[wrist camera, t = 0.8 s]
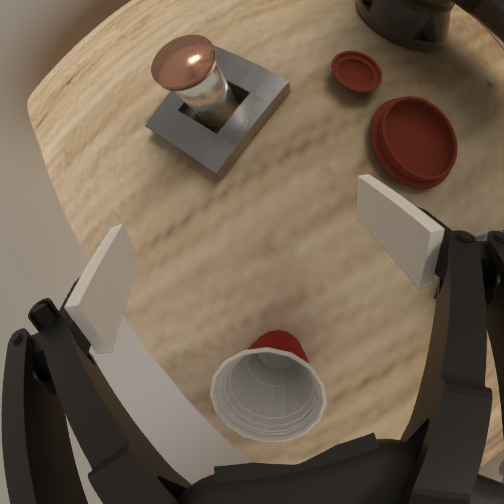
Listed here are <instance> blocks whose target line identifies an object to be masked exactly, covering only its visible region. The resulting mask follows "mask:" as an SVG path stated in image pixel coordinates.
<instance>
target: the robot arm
mask: <svg viewBox="0 0 504 504" xmlns="http://www.w3.org/2000/svg"><path fill="white" fill-rule="evenodd" d="M356 4H357V9H358V12H359V14H360V15H361V17H362V18H363V20H364V21H365V22H366V23H367V24H368V25H369V26H370V27H371V28H372V29H373V30H375V31H376V32H377V33H379V34H380V35H381V36H383V37H384V38H386V39H388V40H390V41H392V42H393V43H396V44H398V45H400V46H403V47H405V48H408V49H412V50H416V51H433V50H436V49H438V48H439V47H440V46H441V45H442V44H443V42H444V41H445V40H446V38H447V35H448V30H449V22H450V12H451V10H452V8H453V7H454V5H455V4H456V5H457V6H459V7H460V8H462V9H463V10H464V11H466V12H467V13H468V14H470V15H471V16H472V17H474V18H475V19H476V20H477V21H479V22H480V23H481V24H482V25H484V26H485V27H486V28H487V29H488V30H490V31H491V32H492V33H493V34H494V35H495V36H496V37H498V38H499V39H500V40H501V41H502V42H503V43H504V0H357V3H356ZM357 220H358V221H359V222H360V223H361V224H362V225H363V226H364V227H365V228H366V229H367V230H368V231H369V232H370V234H371V235H372V236H373V237H374V238H375V239H376V240H377V241H378V242H379V243H380V244H381V246H382V247H383V248H384V249H385V250H386V251H387V252H388V253H389V254H390V256H391V257H392V258H393V259H394V260H395V261H396V263H397V264H398V265H399V266H400V267H401V268H402V270H403V271H404V272H405V273H406V274H407V275H408V277H409V278H410V279H411V280H412V282H413V283H414V284H415V285H416V286H417V288H418V289H421V288H424V287H426V286H429V285H432V282H433V278H434V275H435V274H436V275H437V276H438V277H439V278H440V279H439V283H438V286H437V290H436V293H435V296H434V299H436V307H435V315H434V322H433V328H432V334H431V340H430V345H429V351H428V356H427V360H426V365H425V369H424V373H423V377H422V381H421V385H420V389H419V393H418V396H417V400H416V403H415V406H414V410H413V413H412V416H411V419H410V421H409V423H408V425H407V427H406V429H405V431H404V433H403V435H402V437H401V439H400V440H395V439H377V440H376V437H375V434H374V433H371V434H368V435H366V436H363V437H360V438H357V439H354V440H351V441H348V442H345V443H341V444H338V445H336V446H334V447H332V448H330V449H328V450H326V451H324V452H323V453H321V454H319V455H317V456H315V457H313V458H311V459H309V460H307V461H305V462H302V463H300V464H296V465H284V464H264V463H247V464H239V465H228V466H216V467H214V471H215V474H213V475H210V476H208V477H205V478H203V479H201V480H199V481H198V482H196V483H194V484H193V485H191V484H190V483H189V482H188V481H187V480H186V479H184V478H183V477H182V476H181V475H179V474H178V473H177V472H176V471H174V469H172V467H171V466H170V465H169V464H168V463H167V462H166V461H165V460H164V458H163V457H162V456H161V455H160V454H159V453H158V451H157V450H156V449H155V448H154V447H153V445H152V444H151V443H150V442H149V440H148V439H147V438H146V437H145V435H144V434H143V433H142V431H141V430H140V429H139V427H138V426H137V425H136V424H135V422H134V421H133V420H132V418H131V417H130V415H129V414H128V412H127V411H126V409H125V408H124V407H123V405H122V404H121V402H120V401H119V400H118V398H117V396H116V395H115V393H114V392H113V390H112V388H111V387H110V385H109V384H108V382H107V380H106V379H105V377H104V376H103V374H102V372H101V370H100V369H99V367H98V365H97V363H96V362H95V360H94V358H93V356H92V355H91V354H90V353H89V349H90V346H91V345H92V347H93V348H94V349H95V351H96V352H97V353H98V354H101V353H112V351H113V347H114V343H115V340H116V336H117V333H118V329H119V326H120V322H121V319H122V316H123V313H124V310H125V307H126V304H127V300H128V297H129V294H130V291H131V289H132V286H133V283H134V280H135V277H136V274H137V271H138V269H139V266H140V263H139V261H138V258H137V256H136V254H135V251H134V249H133V247H132V244H131V242H130V239H129V237H128V235H127V232H126V230H125V227H124V225H123V224H120V225H116V226H113V227H111V229H110V230H109V232H108V233H107V235H106V236H105V238H104V239H103V241H102V242H101V244H100V246H99V247H98V249H97V250H96V252H95V254H94V255H93V257H92V258H91V260H90V262H89V264H88V265H87V267H86V269H85V270H84V272H83V274H82V275H81V277H80V278H79V279H78V280H77V281H76V282H75V283H74V284H73V286H72V288H71V290H70V292H69V293H68V295H67V298H66V299H65V301H64V303H63V305H62V307H61V308H60V310H59V311H58V310H57V308H56V307H55V305H54V304H53V302H52V301H51V300H50V299H49V298H46V299H42V300H41V301H39V302H37V303H36V304H35V305H34V306H33V307H32V308H31V310H30V312H29V314H28V318H29V320H30V321H31V322H32V324H33V325H34V326H35V328H36V329H37V330H38V332H39V333H36V334H34V335H32V336H31V335H30V334H29V333H28V331H27V330H26V329H23V328H22V329H19V330H18V331H16V332H14V334H12V336H11V338H10V340H9V343H8V348H7V354H6V362H5V370H4V380H3V393H2V446H3V458H4V468H5V476H6V482H7V488H8V494H9V498H10V504H88V502H87V499H86V496H85V493H84V490H83V487H82V484H81V481H80V477H79V474H78V471H77V467H76V464H75V459H74V455H73V451H72V447H71V443H70V438H69V433H68V428H67V422H66V416H67V419H68V421H69V423H70V426H71V428H72V430H73V432H74V434H75V436H76V438H77V440H78V442H79V445H80V447H81V448H82V450H83V452H84V454H85V456H86V458H87V460H88V462H89V463H90V465H91V468H92V471H91V472H90V473H88V478H89V481H90V483H91V485H92V487H93V488H94V490H95V491H96V493H97V495H98V496H99V498H100V500H101V501H102V502H103V504H504V478H503V481H502V483H500V482H498V481H495V480H492V479H490V478H487V477H485V476H482V475H480V474H478V471H479V468H480V464H481V460H482V456H483V452H484V448H485V443H486V438H487V433H488V427H489V421H490V414H491V407H492V390H491V388H487V387H485V373H486V352H487V331H488V335H489V339H490V343H491V347H492V352H493V356H494V362H495V367H496V373H497V379H498V385H499V393H500V401H501V412H502V425H503V436H504V233H502V232H500V231H490V232H488V235H487V239H486V241H477V240H476V238H475V237H474V236H473V235H471V234H470V233H468V232H465V231H460V230H457V231H452V230H451V229H449V228H448V227H447V226H446V225H444V224H443V223H442V222H441V221H439V220H437V218H435V217H434V216H432V215H431V214H430V213H429V212H427V211H426V210H424V209H422V208H419V207H417V206H414V205H413V204H412V203H410V202H409V201H408V200H406V199H405V198H403V197H402V196H401V195H399V194H398V193H396V192H395V191H393V190H392V189H391V188H389V187H388V186H386V185H385V184H383V183H382V182H380V181H379V180H377V179H376V178H374V177H372V176H371V175H369V174H366V175H359V176H357ZM499 279H500V280H499ZM65 414H66V416H65ZM499 474H500V475H501V476H504V460H503V461H502V462H501V464H500V466H499Z"/></svg>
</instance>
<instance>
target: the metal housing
mask: <svg viewBox="0 0 504 504" xmlns="http://www.w3.org/2000/svg"><path fill="white" fill-rule="evenodd" d="M214 48H215V50H216V53H217V65H218V67H219V69H220V71H221V72H222V74H223V76H224V78H225V80H226V82H227V83H228V85H229V87H230V89H231V90H232V91H234V92H236V93H238V94H239V95H241V96H243V97H245V100H244V101H243V102H242V103H241V104H240V106H239V107H238V108H237V109H236V111H235V112H234V113H233V114H232V116H231V117H230V118H229V119H228V121H227V122H226V123H225V124H224V126H223V127H222V128H221V130H220V131H219V132H218V134H216V133H214V132H213V131H211V130H209V129H208V128H206V127H204V126H203V125H201V124H200V123H198V122H196V121H195V120H193V119H191V118H190V117H188V116H189V115H190V113H191V112H192V111H193V110H192V109H191V108H190V107H189V106H188V105H187V104H186V103H185V102H184V101H183V100H182V99H181V98H180V97H179V96H178V95H177V94H176V93H175V92H174V91H171V92H170V93H169V94H168V96H167V97H166V98H165V100H164V101H163V102H162V103H161V105H160V106H159V107H158V109H157V110H156V111H155V113H154V114H153V116H152V117H151V118H150V120H149V121H148V123H147V124H146V125H145V126H146V127H147V128H149V129H150V130H152V131H153V132H155V133H156V134H158V135H159V136H161V137H162V138H164V139H165V140H167V141H168V142H170V143H171V144H173V145H174V146H176V147H177V148H179V149H180V150H182V151H183V152H185V153H186V154H188V155H189V156H191V157H192V158H194V159H195V160H197V161H198V162H199V163H201V164H202V165H204V166H205V167H207V168H208V169H210V170H211V171H212V172H214V173H215V174H217V175H218V176H220V177H222V178H223V177H224V176H225V175H226V173H227V172H228V171H229V169H230V168H231V166H232V165H233V164H234V162H235V161H236V160H237V158H238V157H239V156H240V154H241V153H242V152H243V150H244V149H245V148H246V146H247V145H248V144H249V143H250V141H251V140H252V139H253V137H254V136H255V135H256V134H257V132H258V131H259V130H260V128H261V127H262V126H263V125H264V123H265V122H266V121H267V120H268V118H269V117H270V116H271V115H272V113H273V112H274V111H275V110H276V108H277V107H278V106H279V105H280V104H281V102H282V101H283V100H284V99H285V98H286V96H287V95H288V94H289V93H290V87H289V81H287V80H286V79H284V78H282V77H280V76H278V75H276V74H274V73H273V72H271V71H269V70H267V69H265V68H263V67H261V66H259V65H257V64H255V63H252V62H250V61H248V60H246V59H244V58H242V57H240V56H237V55H235V54H233V53H230V52H228V51H226V50H223V49H221V48H218V47H216V46H214Z"/></svg>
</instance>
